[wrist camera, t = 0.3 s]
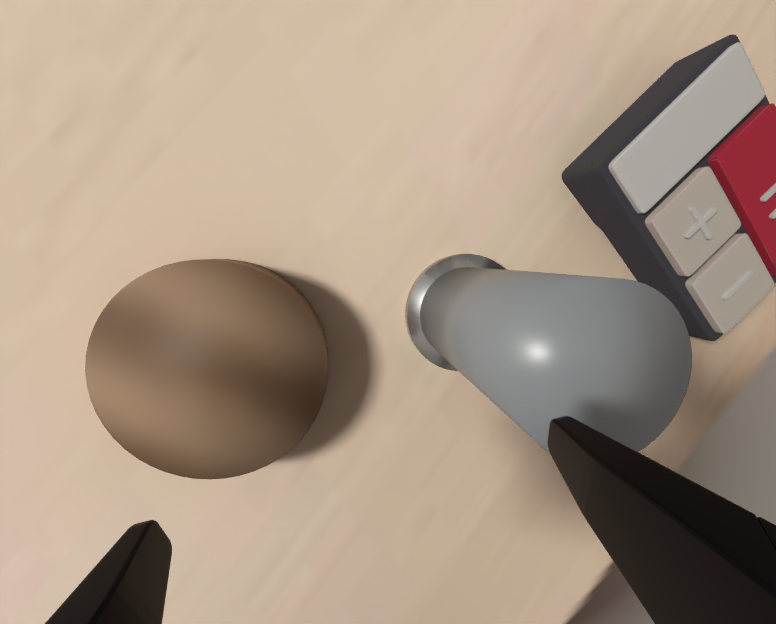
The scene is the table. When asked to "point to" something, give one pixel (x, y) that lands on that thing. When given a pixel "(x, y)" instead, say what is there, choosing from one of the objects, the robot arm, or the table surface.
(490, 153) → the table surface
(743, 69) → the calculator
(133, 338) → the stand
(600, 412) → the grey cylinder
